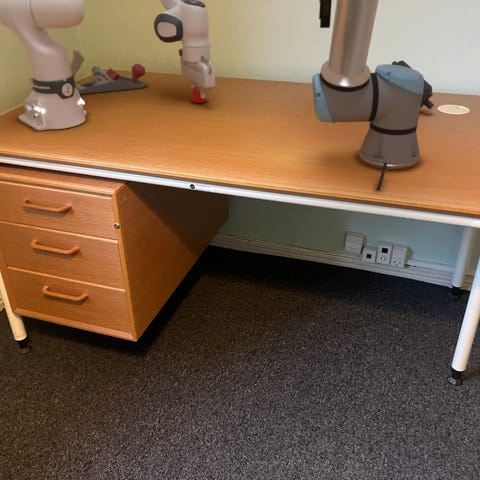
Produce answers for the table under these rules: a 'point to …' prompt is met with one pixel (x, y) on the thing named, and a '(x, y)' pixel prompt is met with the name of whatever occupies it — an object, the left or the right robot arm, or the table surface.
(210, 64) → the left robot arm
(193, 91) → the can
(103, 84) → the hand plane
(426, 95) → the tool
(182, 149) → the table surface
